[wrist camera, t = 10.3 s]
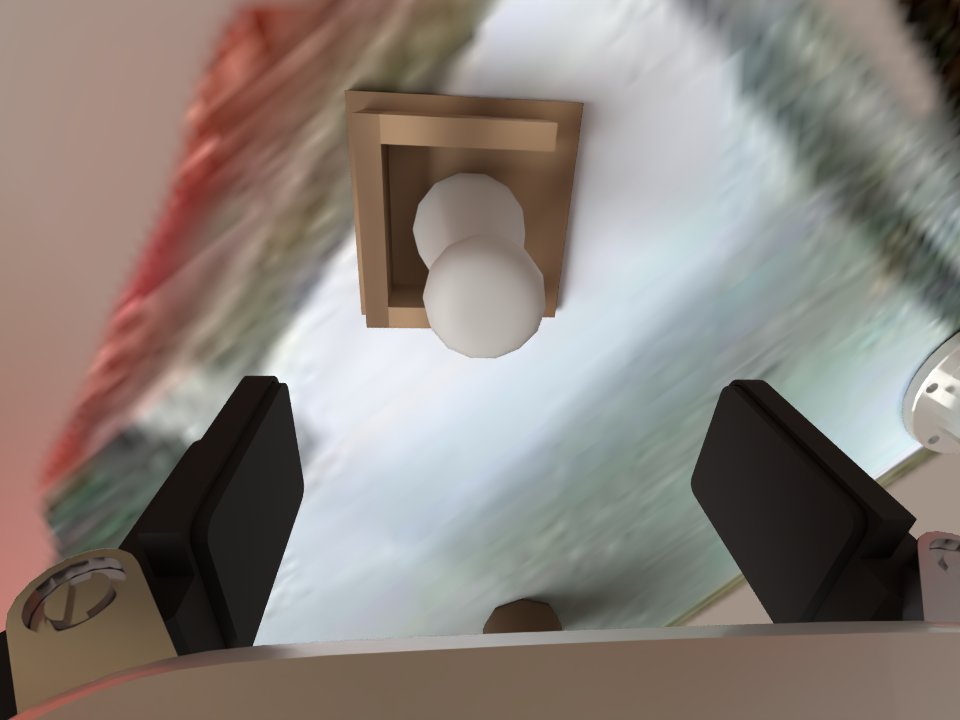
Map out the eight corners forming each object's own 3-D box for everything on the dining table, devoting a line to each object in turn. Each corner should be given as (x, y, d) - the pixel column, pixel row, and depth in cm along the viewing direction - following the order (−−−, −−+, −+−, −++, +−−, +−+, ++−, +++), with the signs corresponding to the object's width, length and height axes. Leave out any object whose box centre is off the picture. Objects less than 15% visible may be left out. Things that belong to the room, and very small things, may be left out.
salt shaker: (500, 280, 29) (539, 401, 18) (406, 256, 28) (384, 370, 17) (531, 181, 27) (600, 252, 15) (429, 151, 26) (422, 202, 14)
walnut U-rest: (579, 102, 26) (603, 105, 22) (552, 312, 31) (567, 342, 28) (347, 90, 25) (331, 90, 21) (363, 309, 30) (353, 340, 27)
